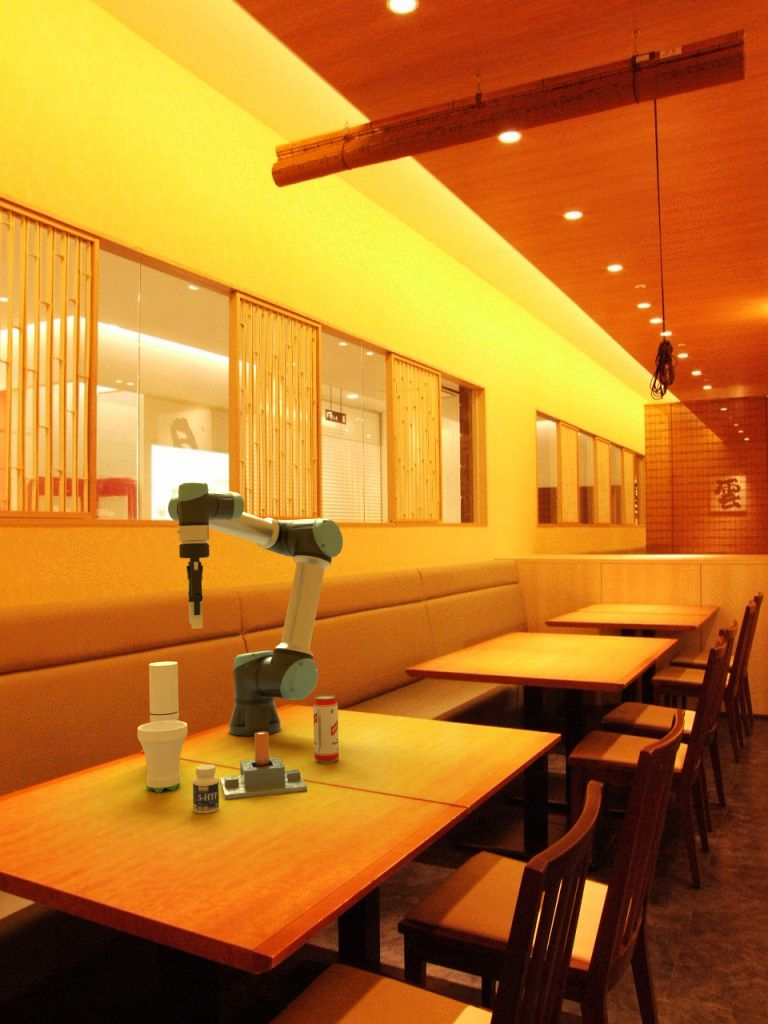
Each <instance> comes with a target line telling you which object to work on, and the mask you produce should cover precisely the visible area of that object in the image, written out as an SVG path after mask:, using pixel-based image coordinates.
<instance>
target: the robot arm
mask: <svg viewBox="0 0 768 1024" xmlns="http://www.w3.org/2000/svg"><path fill="white" fill-rule="evenodd" d="M177 491H178V494H177V495H174V496H173V497H172V498H170V500H169V502H168V505H167V512H168V515H169V517H170V518H171V519H172V520H173V521H174V522H178V529H177V530H176V534H178V536H179V537H178V538H179V540H178V541H179V542H181V543H180V544H179V545H178V547H179V548H178V550H179V553H178V555H179V558H180V559H189V561H188V562H187V564H188V565H186V574H187V577H186V578H187V580H188V592H187V594H188V621H189V622H188V624H189V625H190V627H191V629H192V630H193V629H203V628H204V627H203V626H204V624H203V623H204V622H203V621H204V619H203V613H204V611H203V599H204V595H203V585H202V584H203V583H202V582H203V572H204V565H203V564H202V561H200V559H205V558H206V559H208V558H209V557H210V544H209V543H208V542H209V541H210V529H211V530H215V531H217V532H220V533H223V534H227V535H230V536H234V537H237V538H240V539H243V540H246V541H248V542H253V543H255V544H256V546H258V547H259V548H261V549H264V550H267V551H269V552H273V553H276V554H278V555H282V556H285V557H290V558H292V560H293V562H294V563H295V571H294V576H293V580H292V586H291V589H290V593H289V594H290V595H289V600H288V605H287V610H286V615H285V619H284V625H283V629H282V634H281V640H280V643H278V645H276V646H275V647H274V648H273V650H263V651H262V650H261V651H254V652H246V653H242V654H237V655H236V656H235V657H234V659H233V660H234V661H233V669H232V670H233V693H234V706H233V710H232V713H231V717H230V721H229V725H228V732H229V733H230V734H231V735H234V736H244V737H249V736H250V737H253V736H254V737H255V733H256V732H269V735H270V734H273V733H276V732H279V731H280V730H281V729H282V728H281V727H282V725H281V724H282V723H281V719H280V715H279V713H278V710H277V707H276V704H275V698H277V699H285V700H289V701H292V700H297V701H298V700H304V699H305V698H307V697H308V696H309V695H311V693H313V691H314V690H315V688H316V685H317V683H318V679H319V670H318V666H317V664H316V662H315V661H314V653H313V652H312V650H311V641H312V637H313V633H314V627H315V622H316V618H317V617H316V616H317V613H318V612H317V611H318V606H319V601H320V595H321V590H322V586H323V585H322V584H323V581H324V575H325V571H326V570H327V569H329V568H330V567H331V566H332V559H333V558H336V557H338V556H339V554H341V552H342V550H343V545H344V542H343V541H344V540H343V539H344V538H343V533H342V531H341V529H340V527H339V525H338V524H337V523H336V521H334V520H333V519H331V518H321V517H318V518H305V519H303V518H302V519H289V520H288V519H285V520H284V519H283V520H282V519H275V518H272V517H266V518H262V517H259V516H256V515H254V514H251V513H247V512H244V511H245V500H244V498H243V496H242V495H241V494H240V493H238V492H235V491H234V492H233V491H215V490H214V491H212V490H211V491H210V489H209V485H208V484H207V482H201V481H190V482H189V481H188V482H182V483H180V484H179V486H178V490H177Z"/></svg>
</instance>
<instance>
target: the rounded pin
mask: <svg viewBox="0 0 768 1024" xmlns="http://www.w3.org/2000/svg"><path fill="white" fill-rule="evenodd" d="M269 758H270V734H269V732H256V733H255V736H254V760H255V767H264V766H269Z"/></svg>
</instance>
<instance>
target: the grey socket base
mask: <svg viewBox="0 0 768 1024" xmlns="http://www.w3.org/2000/svg"><path fill="white" fill-rule="evenodd" d="M239 763H240V764H239V765H240V768H239V769H240V775H228V776H223V777H219V783H220V786H222V787H221V789H222V792H223V797H224V800H234V799H242V798H251V797H260V796H270V795H278V794H279V795H280V794H288V793H296V792H297V793H299V792H306V791H308V785H307V783H306V782H305V780H304V779H303V778H302V775H301V772H300V770H299V769H289V770H288V769H287V770H286V767H285V765H284V763H283V762H282V760H281V758H280V757H279V756H278V757H271V758H270V757H269V766H264V767H255V759H248V760H240V762H239Z"/></svg>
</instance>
